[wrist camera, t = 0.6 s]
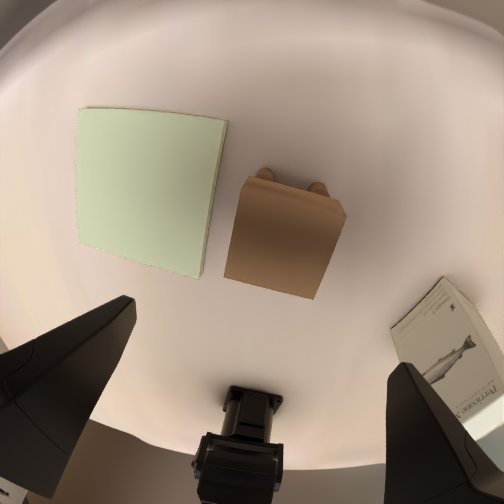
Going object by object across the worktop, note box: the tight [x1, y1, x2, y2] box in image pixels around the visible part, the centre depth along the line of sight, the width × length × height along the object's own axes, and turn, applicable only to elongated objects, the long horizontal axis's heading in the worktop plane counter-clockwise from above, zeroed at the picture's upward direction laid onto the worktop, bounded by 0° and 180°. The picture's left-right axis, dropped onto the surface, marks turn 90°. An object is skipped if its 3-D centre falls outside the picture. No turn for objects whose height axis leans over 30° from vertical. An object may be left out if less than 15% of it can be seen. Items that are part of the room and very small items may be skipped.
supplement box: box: [391, 277, 504, 440], centre depth 16 cm, size 7×7×13 cm
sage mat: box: [75, 108, 228, 280], centre depth 19 cm, size 12×12×1 cm
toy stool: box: [224, 168, 346, 300], centre depth 16 cm, size 5×5×6 cm
